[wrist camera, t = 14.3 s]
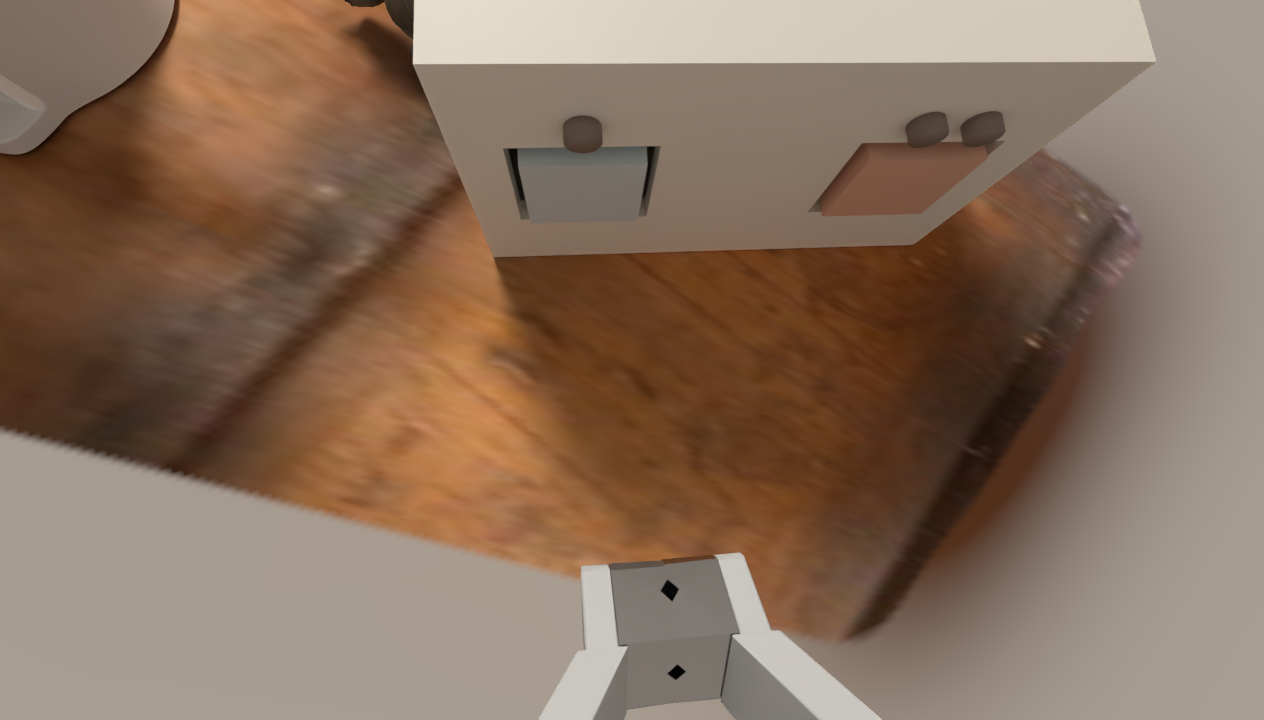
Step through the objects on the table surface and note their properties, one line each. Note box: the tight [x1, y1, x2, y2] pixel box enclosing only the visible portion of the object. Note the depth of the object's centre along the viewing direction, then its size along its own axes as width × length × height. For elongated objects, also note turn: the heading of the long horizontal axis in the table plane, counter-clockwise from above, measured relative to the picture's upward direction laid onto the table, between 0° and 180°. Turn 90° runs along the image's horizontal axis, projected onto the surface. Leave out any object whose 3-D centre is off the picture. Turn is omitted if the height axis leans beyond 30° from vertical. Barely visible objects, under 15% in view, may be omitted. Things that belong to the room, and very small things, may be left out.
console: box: [413, 0, 1156, 257], centre depth 27 cm, size 24×10×15 cm, turn 93°
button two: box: [820, 142, 988, 216], centre depth 27 cm, size 5×8×5 cm, turn 4°
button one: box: [518, 146, 648, 224], centre depth 26 cm, size 5×8×5 cm, turn 3°
